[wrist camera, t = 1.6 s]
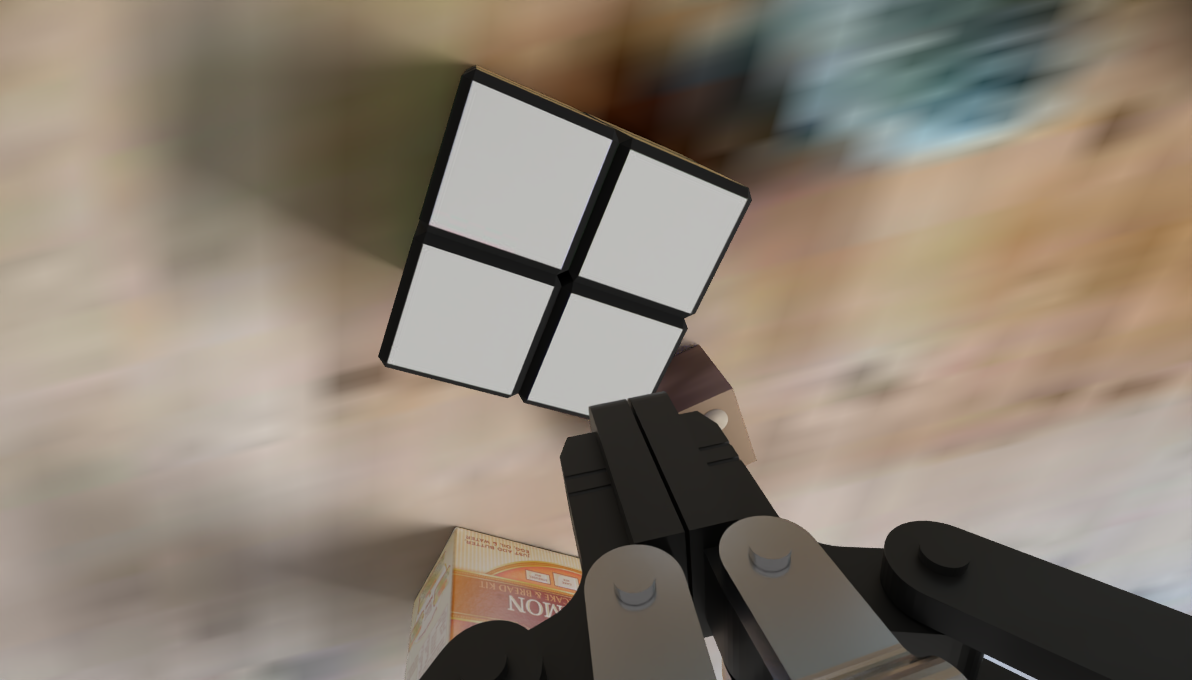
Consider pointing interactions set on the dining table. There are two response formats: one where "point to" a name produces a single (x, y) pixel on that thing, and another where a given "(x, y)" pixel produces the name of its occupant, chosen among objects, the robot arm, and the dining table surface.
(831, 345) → the dining table surface
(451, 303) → the puzzle cube
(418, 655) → the coffeecake box
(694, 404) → the walnut block
